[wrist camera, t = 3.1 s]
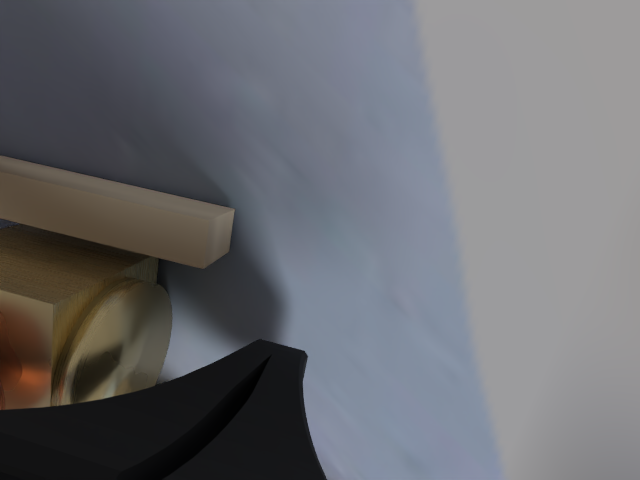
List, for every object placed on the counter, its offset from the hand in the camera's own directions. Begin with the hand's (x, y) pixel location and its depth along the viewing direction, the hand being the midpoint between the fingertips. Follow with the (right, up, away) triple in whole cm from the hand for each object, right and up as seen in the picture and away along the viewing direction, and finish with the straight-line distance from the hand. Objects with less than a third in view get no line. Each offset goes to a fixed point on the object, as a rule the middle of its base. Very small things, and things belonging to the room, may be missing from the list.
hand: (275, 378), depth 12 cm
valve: (-6, +2, +2) cm, 6 cm away
